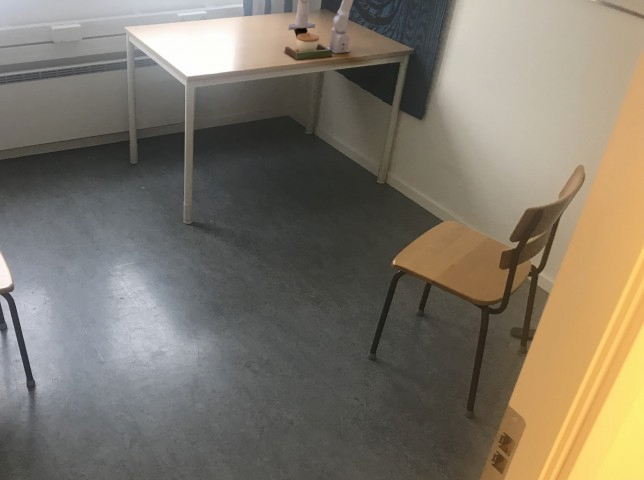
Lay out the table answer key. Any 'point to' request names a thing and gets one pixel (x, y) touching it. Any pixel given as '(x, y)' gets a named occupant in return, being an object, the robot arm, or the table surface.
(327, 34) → the table surface
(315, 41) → the trinket box
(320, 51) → the olive green tray
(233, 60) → the table surface
